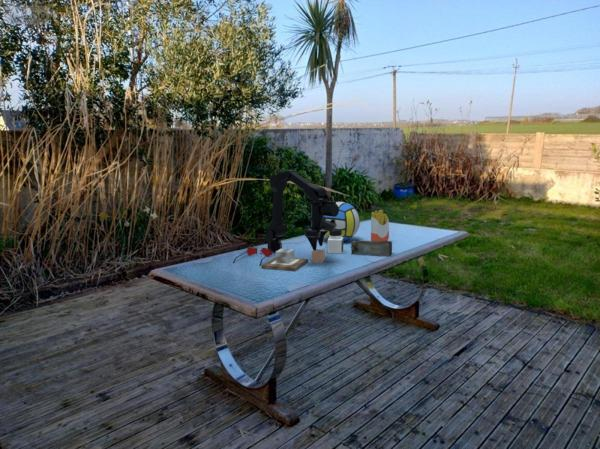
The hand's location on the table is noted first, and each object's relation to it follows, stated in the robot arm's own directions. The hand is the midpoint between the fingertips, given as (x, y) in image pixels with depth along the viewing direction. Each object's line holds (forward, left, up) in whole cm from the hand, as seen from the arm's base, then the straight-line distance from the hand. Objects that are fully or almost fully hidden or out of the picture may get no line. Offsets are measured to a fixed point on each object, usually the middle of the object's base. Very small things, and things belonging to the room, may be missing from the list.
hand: (317, 248), depth 196 cm
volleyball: (-2, +46, -6) cm, 46 cm away
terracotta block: (0, 0, -6) cm, 6 cm away
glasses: (-30, -7, -7) cm, 31 cm away
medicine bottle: (+3, +19, -6) cm, 20 cm away
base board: (-12, -11, -6) cm, 17 cm away
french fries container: (+21, +44, -6) cm, 49 cm away
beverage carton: (+21, +20, -6) cm, 30 cm away
